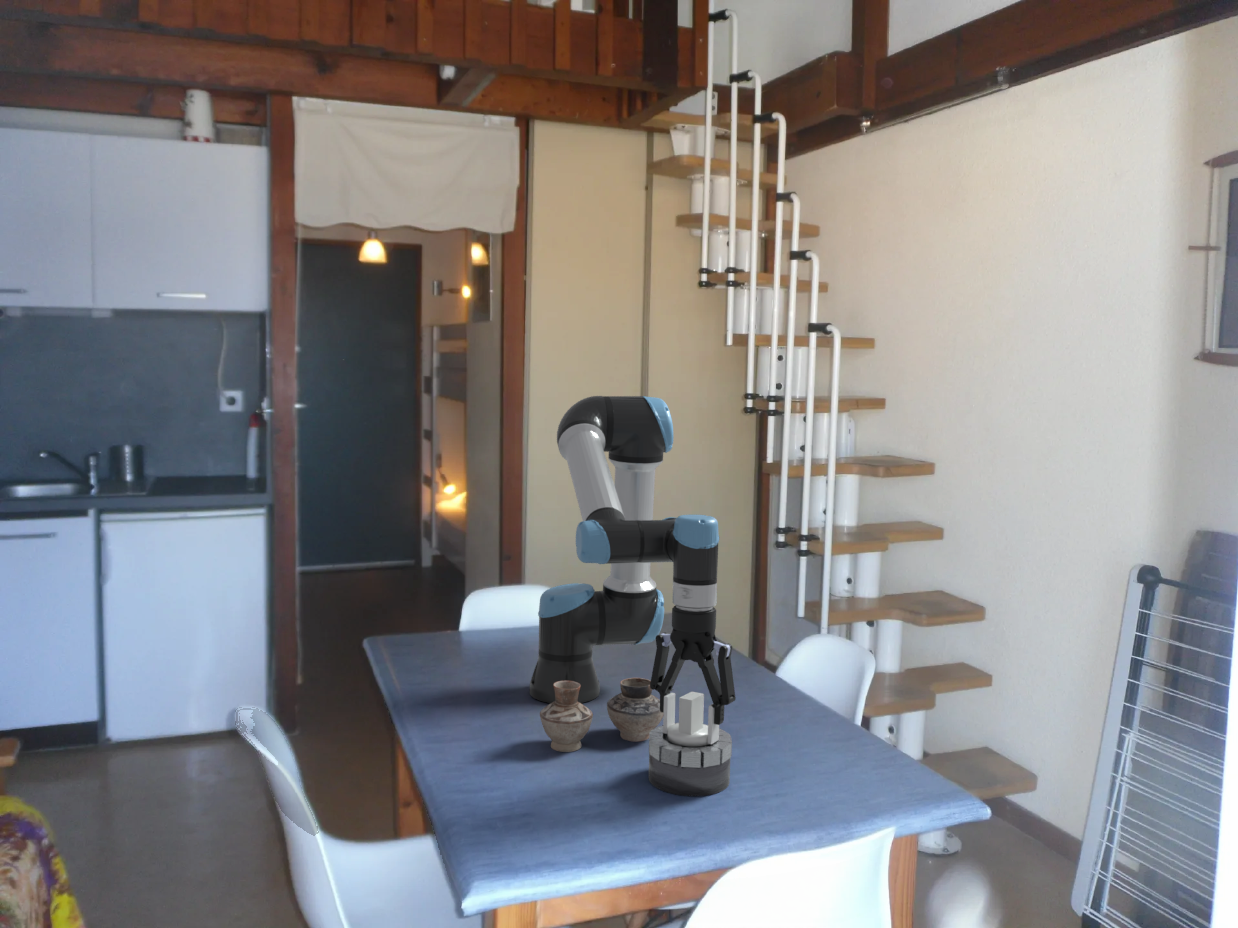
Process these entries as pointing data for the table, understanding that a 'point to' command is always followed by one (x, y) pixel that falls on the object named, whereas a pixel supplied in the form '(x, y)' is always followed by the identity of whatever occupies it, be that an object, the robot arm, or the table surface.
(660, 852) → the table surface
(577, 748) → the pottery
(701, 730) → the cap
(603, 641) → the robot arm
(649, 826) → the table surface
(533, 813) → the table surface
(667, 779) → the toothed ring drum
